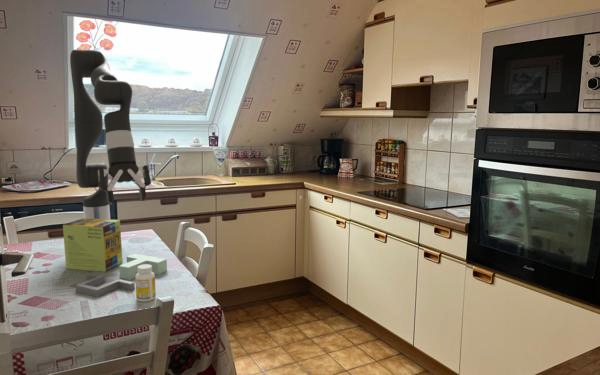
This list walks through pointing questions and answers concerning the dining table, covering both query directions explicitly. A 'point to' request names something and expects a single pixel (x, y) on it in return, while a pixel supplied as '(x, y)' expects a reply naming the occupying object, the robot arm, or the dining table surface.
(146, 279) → the supplement bottle
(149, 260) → the t block
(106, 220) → the protein box
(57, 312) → the dining table surface
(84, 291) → the t dock
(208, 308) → the dining table surface
